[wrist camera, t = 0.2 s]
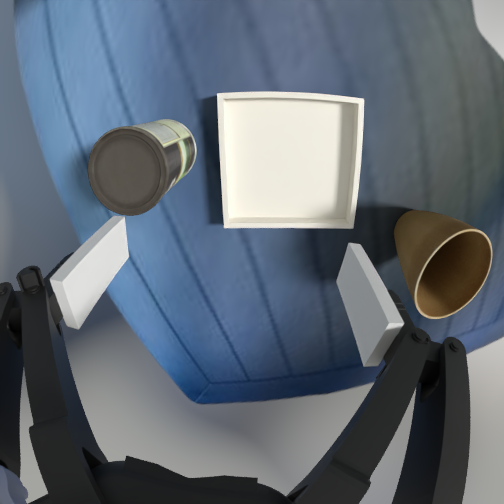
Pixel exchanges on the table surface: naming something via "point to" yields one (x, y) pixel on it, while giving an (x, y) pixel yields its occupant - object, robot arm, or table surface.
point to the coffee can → (140, 164)
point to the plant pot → (441, 261)
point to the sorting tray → (289, 159)
